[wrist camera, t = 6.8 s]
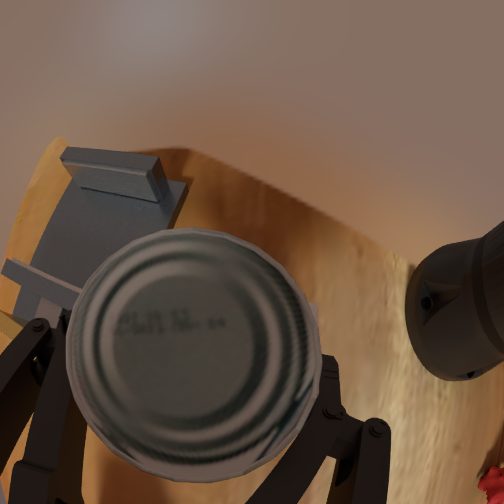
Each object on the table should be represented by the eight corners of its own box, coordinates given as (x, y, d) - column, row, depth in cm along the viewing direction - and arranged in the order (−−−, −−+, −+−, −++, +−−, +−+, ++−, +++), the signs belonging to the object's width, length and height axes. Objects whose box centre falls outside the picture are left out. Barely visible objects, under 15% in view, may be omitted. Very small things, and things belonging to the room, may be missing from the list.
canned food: (144, 356, 18) (31, 333, 7) (223, 284, 21) (193, 183, 9) (221, 438, 16) (183, 523, 5) (303, 361, 18) (376, 351, 7)
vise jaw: (99, 375, 21) (63, 374, 15) (15, 326, 21) (-20, 313, 16) (119, 307, 23) (89, 290, 18) (34, 271, 24) (2, 250, 19)
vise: (118, 391, 22) (83, 395, 16) (16, 332, 23) (-22, 319, 17) (188, 191, 30) (177, 150, 24) (84, 172, 31) (63, 139, 25)
